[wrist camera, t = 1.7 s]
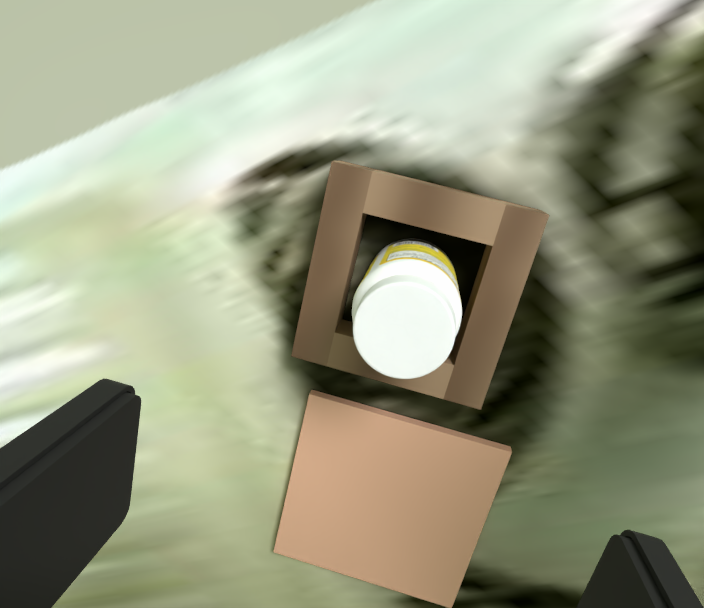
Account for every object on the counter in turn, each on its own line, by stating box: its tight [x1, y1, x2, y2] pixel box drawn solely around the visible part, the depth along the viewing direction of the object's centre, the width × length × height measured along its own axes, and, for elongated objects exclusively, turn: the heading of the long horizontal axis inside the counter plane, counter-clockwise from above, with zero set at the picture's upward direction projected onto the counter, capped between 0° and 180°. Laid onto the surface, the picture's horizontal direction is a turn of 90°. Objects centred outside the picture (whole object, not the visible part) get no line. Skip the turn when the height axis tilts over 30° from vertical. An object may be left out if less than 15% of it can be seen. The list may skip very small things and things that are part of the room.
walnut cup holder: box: [291, 161, 549, 410], centre depth 26 cm, size 10×10×2 cm
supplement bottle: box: [352, 239, 462, 379], centre depth 23 cm, size 5×5×8 cm
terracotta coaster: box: [273, 390, 512, 608], centre depth 31 cm, size 12×12×1 cm
